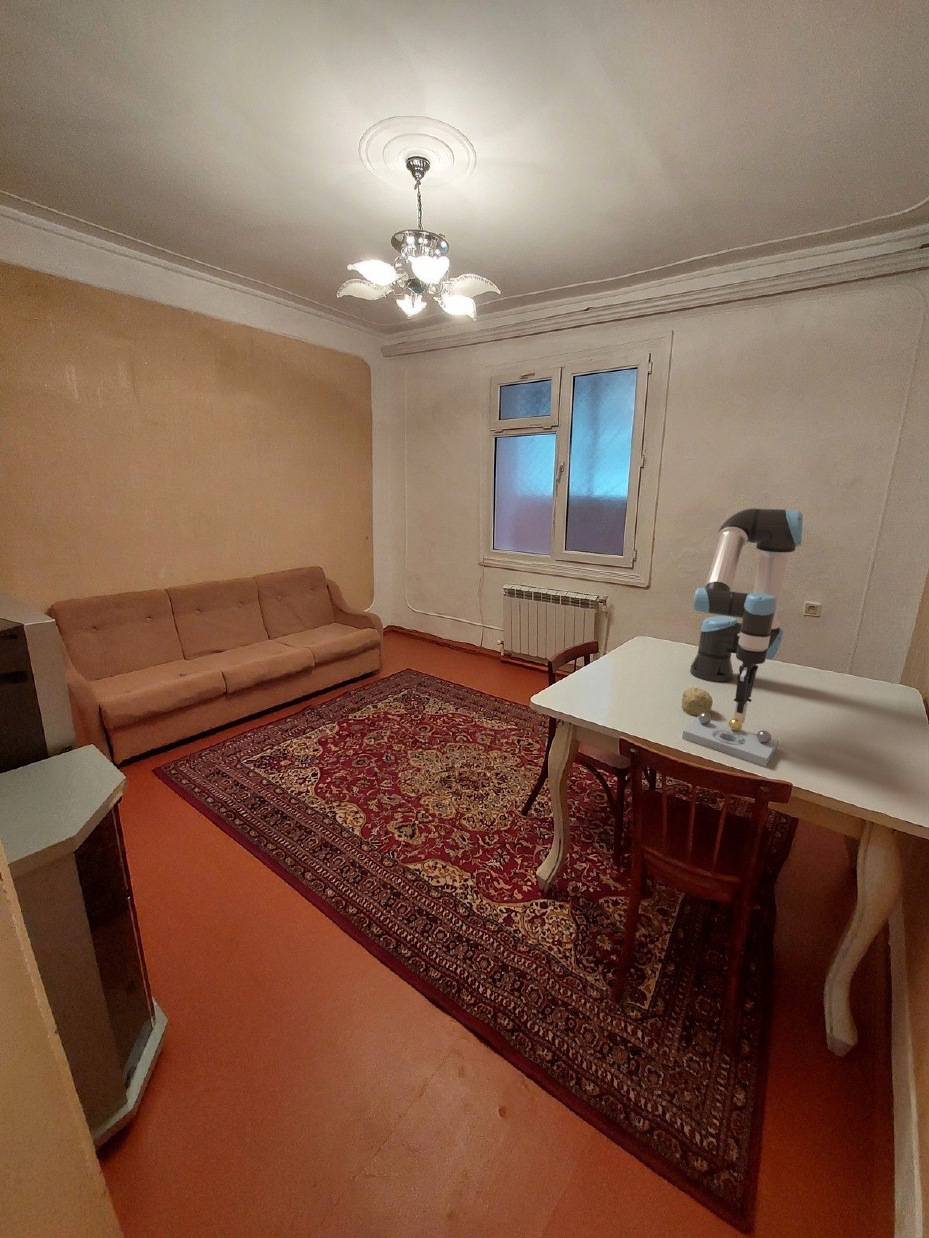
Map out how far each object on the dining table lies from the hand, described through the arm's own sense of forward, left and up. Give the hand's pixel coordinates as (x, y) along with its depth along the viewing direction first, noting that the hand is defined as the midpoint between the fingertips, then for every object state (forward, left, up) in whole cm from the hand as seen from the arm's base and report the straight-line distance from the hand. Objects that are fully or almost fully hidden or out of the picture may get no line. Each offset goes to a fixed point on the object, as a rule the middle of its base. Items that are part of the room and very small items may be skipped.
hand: (738, 721), depth 151 cm
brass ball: (+3, 0, 0) cm, 4 cm away
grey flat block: (+8, 0, -4) cm, 9 cm away
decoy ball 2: (+5, +8, 0) cm, 10 cm away
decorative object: (-7, -15, -4) cm, 17 cm away
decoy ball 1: (+5, -8, 0) cm, 10 cm away
